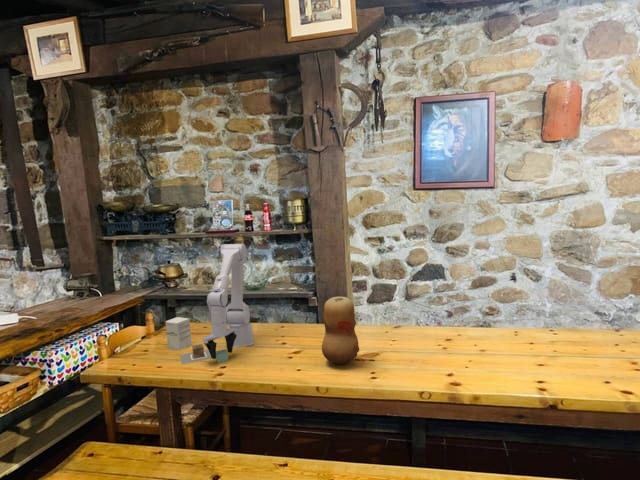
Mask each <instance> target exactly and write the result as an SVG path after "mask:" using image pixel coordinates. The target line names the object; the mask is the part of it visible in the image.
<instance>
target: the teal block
mask: <svg viewBox="0 0 640 480" xmlns="http://www.w3.org/2000/svg"><path fill="white" fill-rule="evenodd" d="M228 353H229V352H228V351H227V348H225V349H220V350H216V359H215V360H216V361H217V363H224V362H228V361H229V354H228Z"/></svg>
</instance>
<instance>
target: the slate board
mask: <svg viewBox="0 0 640 480" xmlns="http://www.w3.org/2000/svg"><path fill="white" fill-rule="evenodd" d="M179 358H180V363H181V365H186V364H190V363H196V362H202V361H206V360H207V361H208V360H211V359H212V358H211V355H210V352H209V350H208V349H204V357H200V358H195V359H194V357H193V351H192V352H189V353H182V354H179ZM212 360H213V359H212Z"/></svg>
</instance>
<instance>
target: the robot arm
mask: <svg viewBox="0 0 640 480" xmlns="http://www.w3.org/2000/svg"><path fill="white" fill-rule="evenodd" d="M247 251H248V249H247V247H246V245H245V243H228V244H226V243H223V244H222V245H221V246H220V252H219V253H220V258H221V259H222V260H221V266H220V271H219V274H217V275H216V276H215V280H214V282H213V286H212V289H211V291H210V292H209V293H208V294H207V295H206V296H207V297H206V304H207V306H208V311H209V312H210V320H211V331H212V332H211V333H209V334H207V336H203V337H202V342H203V343H204V345H205V347H206V348H207V350H209V352H210V355H211V358H212V360H217V359H216V351H217V344H218V343H217V342H215V341H216V340H218V339H221V338H223V337H224V339H225V343H226V344H225V345H226V350H227V352H228V353H229V354H230V353H231V354H232V353H233V349H234V348H239V347H245V346H246V347H247V346H253V345H254V336H253V335H254V334H253V326H252V323H251V322H250V318H251V313H250V307H249V305H248V304H246V303H245V302H244V300H243V299H244V295H243V294H244V264H246V263H247V260H248V259H247V258H248V256H247V255H248V252H247ZM230 274H231V279H230V277H229V275H230ZM230 282H231V288H230V289H231V290H230V291H231V292H230V294H231V296H230V298H231V300H230V302H229V303H228V295H229V292H228V291H229V290H228V289H229V285H230ZM226 305H227V306H226ZM228 327H229V328H228Z"/></svg>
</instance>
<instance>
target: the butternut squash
mask: <svg viewBox="0 0 640 480" xmlns="http://www.w3.org/2000/svg"><path fill="white" fill-rule="evenodd" d="M355 315H356V314H355V305H354V302H353V301H352V300H351V299H350V298H349V297H347V296H333V297H330V298H329V299H328V300H326V301H325V303H324V306H323V318H322V319H323V325H324V332H325V333H324V337H323V339H322V344H321V353H322V355H323V357H324V358H325V359H326V360H327V361H328V362H330V363H334V364H338V365H346V364H348V363H350V362H351V361H353V360H354V359H355V358H356V357H357V356H358V353H359V351H360V347H359V346H360V345H359V339H358V336H357V334H356V330H355V328H356V326H357V325H356V324H357V321H356V316H355Z"/></svg>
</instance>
